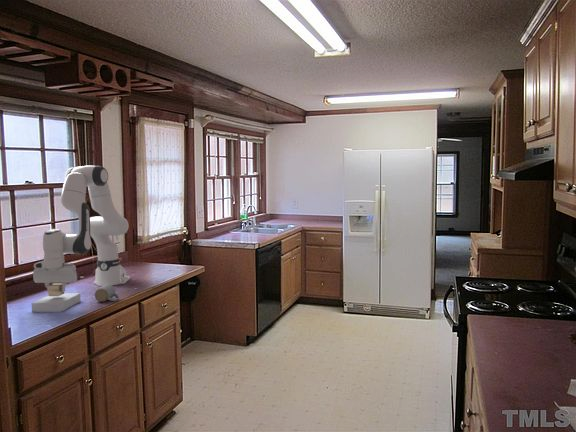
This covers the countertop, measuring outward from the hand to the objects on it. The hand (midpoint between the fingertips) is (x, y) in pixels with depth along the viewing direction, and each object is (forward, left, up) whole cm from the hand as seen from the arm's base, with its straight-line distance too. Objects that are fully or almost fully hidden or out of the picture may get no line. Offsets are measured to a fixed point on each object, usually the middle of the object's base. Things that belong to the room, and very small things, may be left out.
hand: (56, 291), depth 229 cm
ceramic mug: (-11, +20, -8) cm, 24 cm away
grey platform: (0, 0, -7) cm, 7 cm away
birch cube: (0, 0, -2) cm, 2 cm away
